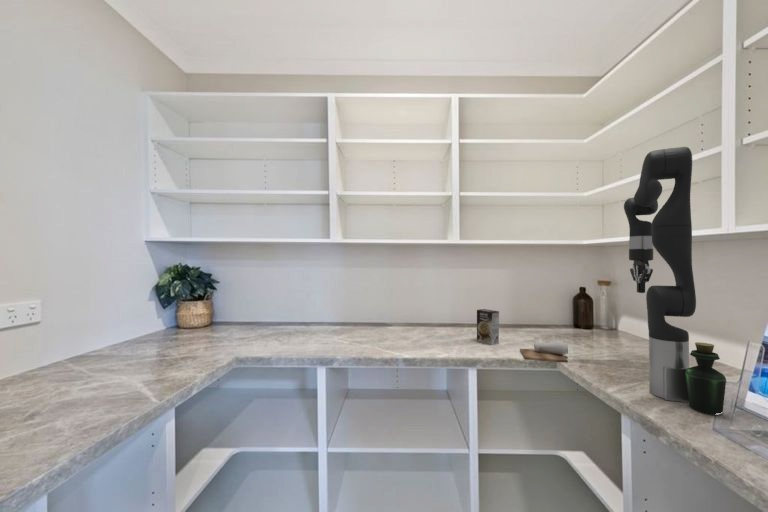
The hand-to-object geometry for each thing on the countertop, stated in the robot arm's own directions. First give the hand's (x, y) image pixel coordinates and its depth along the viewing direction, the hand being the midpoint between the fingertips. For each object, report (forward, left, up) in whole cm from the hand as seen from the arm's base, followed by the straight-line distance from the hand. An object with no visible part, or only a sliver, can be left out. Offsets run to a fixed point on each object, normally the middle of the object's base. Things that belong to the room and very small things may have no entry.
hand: (641, 292), depth 127 cm
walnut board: (+5, +34, -29) cm, 45 cm away
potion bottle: (-39, +2, -29) cm, 48 cm away
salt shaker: (+5, +24, -25) cm, 35 cm away
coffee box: (+23, +56, -29) cm, 67 cm away
